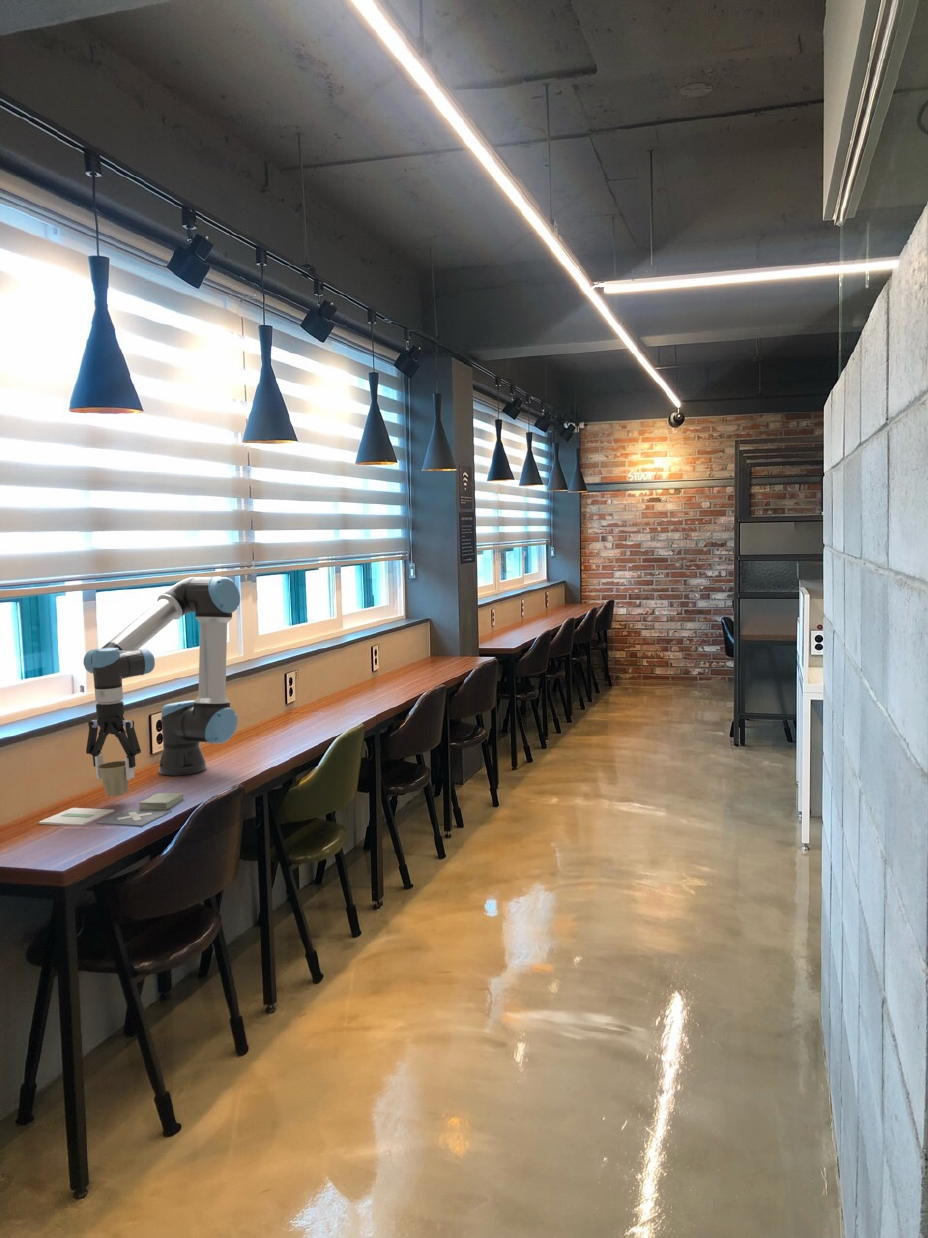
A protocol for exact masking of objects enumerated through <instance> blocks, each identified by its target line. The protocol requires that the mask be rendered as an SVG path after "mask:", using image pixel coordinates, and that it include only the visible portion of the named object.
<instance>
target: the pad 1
mask: <svg viewBox="0 0 928 1238" xmlns="http://www.w3.org/2000/svg"><path fill="white" fill-rule="evenodd" d="M115 811H116V810H115V809H103V808H86V807H85V808H84V807H70V808H69V809H66V810H63V811H61V812H59V813H57V814H54V815H51V816H49V817H47V818H43V819H42V820H40V821H38V824H39V825H54V826H62V825H65V826H66V825H67V826H68V825H69V826H70V825H71V826H81V827H82V826H84V825H87V824H89V823H91V822H94V821H96V820H98V819H100V818H102V817H105V816H107V815H109V814H112V813H114V812H115Z"/></svg>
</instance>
